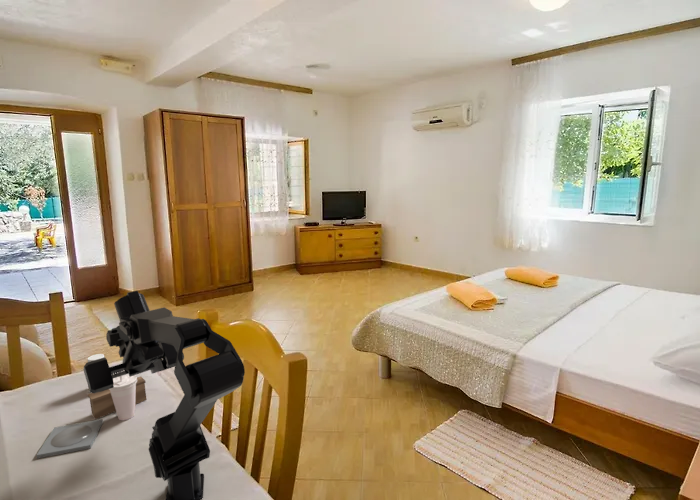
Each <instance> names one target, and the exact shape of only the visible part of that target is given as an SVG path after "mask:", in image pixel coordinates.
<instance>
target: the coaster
mask: <svg viewBox="0 0 700 500" xmlns="http://www.w3.org/2000/svg"><path fill="white" fill-rule="evenodd" d="M103 424H104V420H103V419H102V418H99V419H94V420H89V421H84V422H78V423H72V424H67V425H60V426H55V427H53V429H52V430H51V432H50V433H49V435H48V437H47V438H46V440H45V441H44V443H43V444H42V445H41V447H40V449H39V450H38V452H37V453H36V459H41V458H48V457H51V456H52V457H53V456H57V455H62V454H68V453H73V452H74V453H75V452H77V451H78V452H79V451H84V450H89V449H92V446H93V445H94V442H95V440H96V438H97V436H98V433H99V432H100V429H101V428H102V425H103Z"/></svg>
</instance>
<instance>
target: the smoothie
mask: <svg viewBox="0 0 700 500" xmlns="http://www.w3.org/2000/svg"><path fill="white" fill-rule="evenodd" d="M137 378H138V377H137V375H134V376H131V377H130V376H129V374H126V375H123V376H120V377H117V378H114V379H113V383H114V384H113V386H114V387H113V388H110V389H109V390H110V392H111V396H112V399H113V402H114V406H115V409H116V415H117V419H118V420H119V421H127V420H131V419H132V418H133V417H134V416H135V415H136V404H135V397H136V383H137Z"/></svg>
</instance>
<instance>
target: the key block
mask: <svg viewBox="0 0 700 500" xmlns="http://www.w3.org/2000/svg"><path fill="white" fill-rule="evenodd" d="M146 391H147V390H146V380H145V379H144V377H142V375H141V376H139V377H137V383H136V397H135V405H137V404H140V403H142V402H145V401H147V393H146ZM87 397H88V399H89V403H90V410H91V415H92V418H93V419H94V420H99V419H101V418H103V417H105V416H107V415H111V414H113V413H115V412H116V409H115V406H114V402H113V399H112V396H111V392H110V390H109V389H108V390H105V391H102V392H97V393H90V392H89V394H87ZM116 413H117V412H116Z"/></svg>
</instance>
